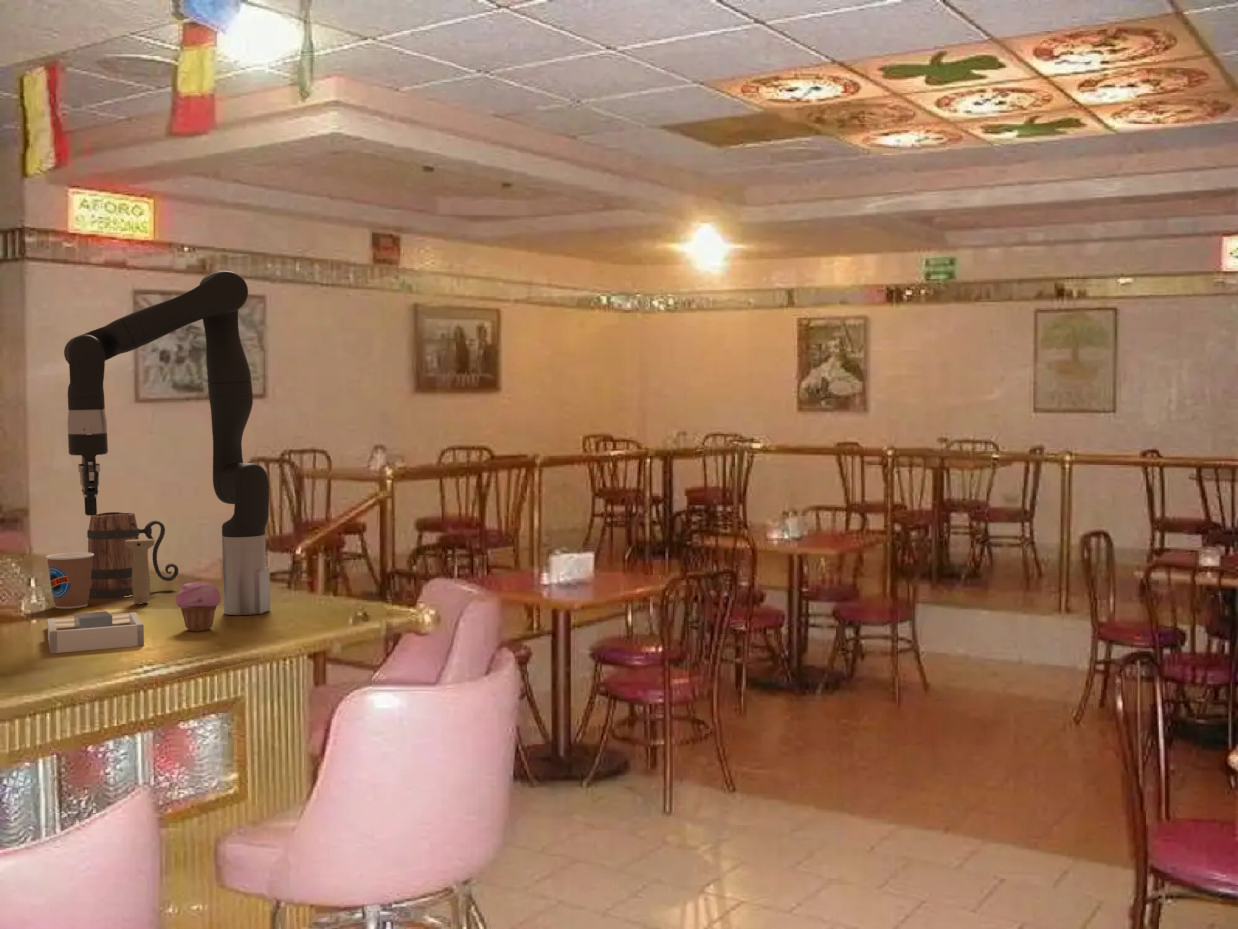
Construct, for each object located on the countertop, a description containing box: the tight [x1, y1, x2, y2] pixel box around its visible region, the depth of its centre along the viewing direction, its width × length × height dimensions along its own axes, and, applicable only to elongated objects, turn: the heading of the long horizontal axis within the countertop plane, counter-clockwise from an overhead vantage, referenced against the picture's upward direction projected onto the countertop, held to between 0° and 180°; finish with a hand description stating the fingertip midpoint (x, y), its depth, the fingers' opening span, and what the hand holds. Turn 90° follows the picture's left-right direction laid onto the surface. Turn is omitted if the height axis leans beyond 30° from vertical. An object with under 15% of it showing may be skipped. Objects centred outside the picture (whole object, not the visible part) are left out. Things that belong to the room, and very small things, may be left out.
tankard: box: [86, 511, 179, 600], centre depth 316 cm, size 24×17×20 cm
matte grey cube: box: [73, 610, 112, 629], centre depth 252 cm, size 7×6×5 cm
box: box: [47, 612, 145, 654], centre depth 248 cm, size 17×16×4 cm
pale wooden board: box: [46, 612, 130, 631], centre depth 262 cm, size 14×16×2 cm
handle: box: [125, 538, 155, 605], centre depth 297 cm, size 5×6×15 cm
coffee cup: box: [45, 552, 94, 610], centre depth 295 cm, size 10×10×12 cm
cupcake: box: [175, 580, 221, 633], centre depth 261 cm, size 9×9×10 cm
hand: (91, 515), depth 265 cm, fingers closed
